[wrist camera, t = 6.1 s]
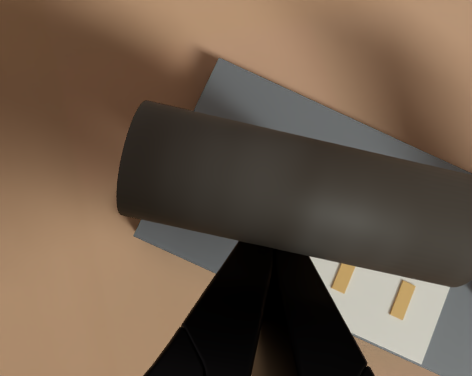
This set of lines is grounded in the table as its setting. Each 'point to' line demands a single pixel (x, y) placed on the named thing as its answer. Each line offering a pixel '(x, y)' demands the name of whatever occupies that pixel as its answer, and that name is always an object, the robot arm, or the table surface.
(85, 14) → the table surface
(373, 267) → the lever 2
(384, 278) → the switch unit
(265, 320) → the robot arm
